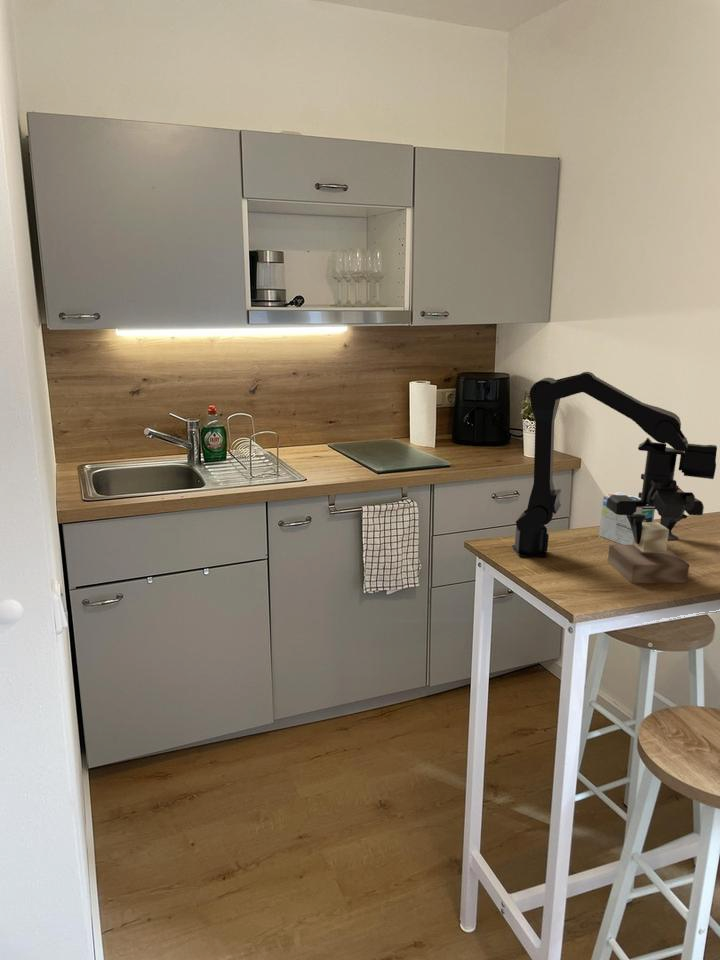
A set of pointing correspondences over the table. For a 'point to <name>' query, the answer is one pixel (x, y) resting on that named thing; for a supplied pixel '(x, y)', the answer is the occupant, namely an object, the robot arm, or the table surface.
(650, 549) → the maple cube
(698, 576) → the table surface
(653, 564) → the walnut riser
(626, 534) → the light bulb box
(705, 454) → the robot arm
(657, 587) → the table surface
